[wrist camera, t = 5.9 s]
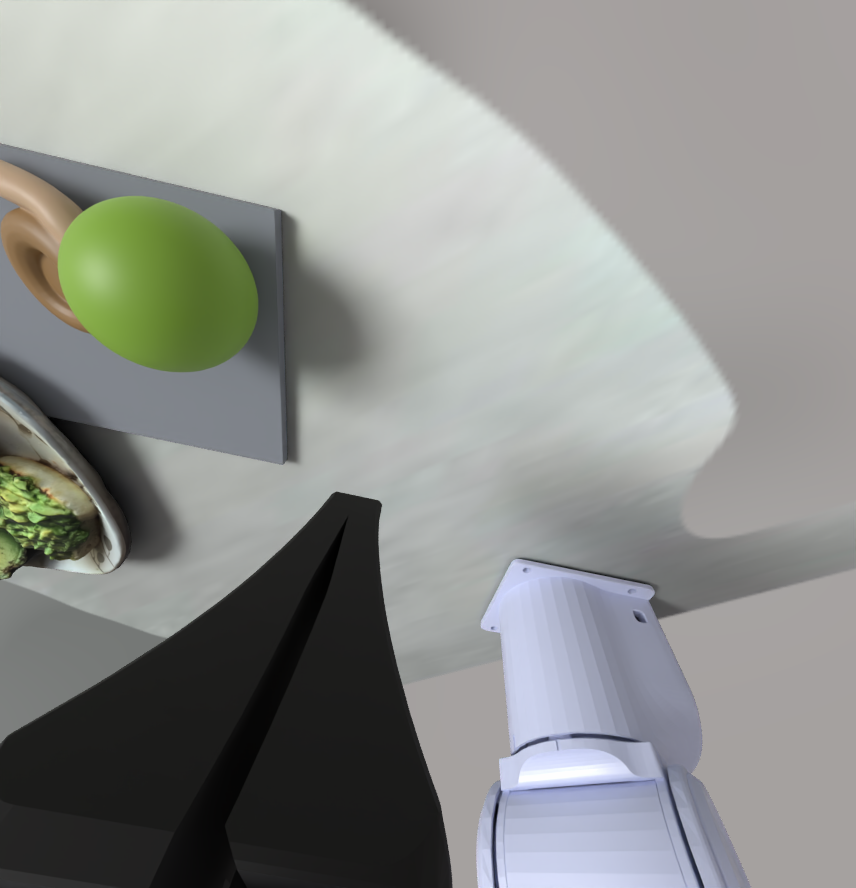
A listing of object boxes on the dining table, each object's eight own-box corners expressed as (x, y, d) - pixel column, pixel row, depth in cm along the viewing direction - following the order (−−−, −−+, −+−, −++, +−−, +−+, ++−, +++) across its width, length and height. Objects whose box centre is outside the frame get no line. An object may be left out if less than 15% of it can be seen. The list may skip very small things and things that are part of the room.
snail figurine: (84, 155, 7) (-208, 132, 10) (193, 416, 11) (-40, 345, 14) (265, 160, 11) (18, 143, 14) (300, 351, 15) (100, 306, 18)
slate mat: (281, 209, 14) (274, 209, 13) (287, 458, 20) (282, 464, 20) (-129, 113, 13) (-153, 109, 13) (15, 401, 20) (3, 406, 19)
